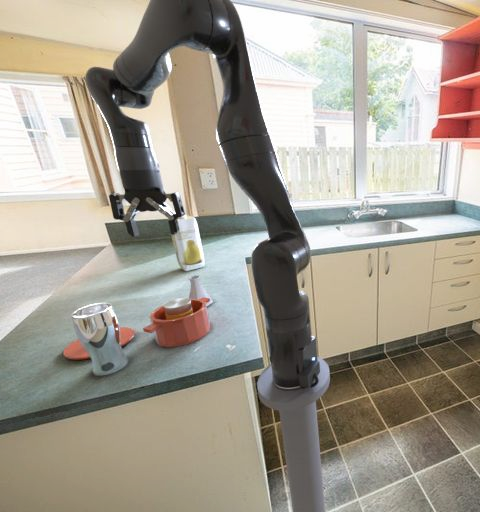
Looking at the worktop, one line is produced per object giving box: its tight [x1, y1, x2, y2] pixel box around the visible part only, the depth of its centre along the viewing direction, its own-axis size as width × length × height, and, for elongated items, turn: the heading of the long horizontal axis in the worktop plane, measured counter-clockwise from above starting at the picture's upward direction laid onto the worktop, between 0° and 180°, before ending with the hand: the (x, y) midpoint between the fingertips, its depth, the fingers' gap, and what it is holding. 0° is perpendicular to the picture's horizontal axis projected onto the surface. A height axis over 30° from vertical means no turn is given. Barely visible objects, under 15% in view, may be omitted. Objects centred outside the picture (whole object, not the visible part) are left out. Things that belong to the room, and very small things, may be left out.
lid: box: [63, 326, 136, 361], centre depth 76 cm, size 14×14×6 cm
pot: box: [142, 297, 211, 348], centre depth 81 cm, size 13×18×8 cm
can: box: [163, 297, 193, 320], centre depth 81 cm, size 6×6×9 cm
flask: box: [187, 274, 214, 307], centre depth 97 cm, size 7×7×10 cm
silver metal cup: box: [70, 302, 129, 377], centre depth 66 cm, size 7×7×15 cm
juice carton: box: [171, 214, 205, 272], centre depth 129 cm, size 9×8×24 cm
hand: (155, 235), depth 74 cm, fingers open, 8 cm apart
